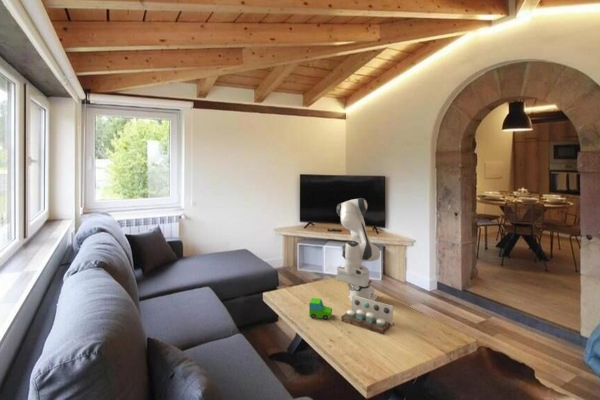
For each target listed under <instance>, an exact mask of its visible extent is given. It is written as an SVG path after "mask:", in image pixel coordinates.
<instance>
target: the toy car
mask: <svg viewBox="0 0 600 400" xmlns="http://www.w3.org/2000/svg"><path fill="white" fill-rule="evenodd" d="M322 300H323V299H322V298H319V297H318V298H317V297H315V298H314V297H311V299H310V301H309V307H308V309H309V314H308V315H309V318H312V319H313V320H314V319H316V318H319V319H320V318H321V319H323V320H326V321H327V320H328V319H331V317H332V315H333V308H332V307H330V306H327V305H326V306H325V305H324V302H323V301H322Z"/></svg>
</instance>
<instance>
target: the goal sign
mask: <svg viewBox="0 0 600 400" xmlns="http://www.w3.org/2000/svg"><path fill="white" fill-rule="evenodd" d="M359 309H361V310H364V311H365V316H366V313H368V312H372V313H374V314H375V319H379V318H380V319H384V320H385V322H389V323H390V328H391V327H393V326H394V325H395V323H394V305H391V304H388V303H383V302H380V301H377V300H375V301H373V300H369V299H365V298H361V297H357V296H353V295H352V301H351V310H353V311H355V313H357V310H359Z"/></svg>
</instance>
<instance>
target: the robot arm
mask: <svg viewBox="0 0 600 400" xmlns="http://www.w3.org/2000/svg"><path fill="white" fill-rule="evenodd" d="M367 210H368V203H367V200H366V199H365V198H362V197H359V198H354V199H350V200H346V201H344V202H339V203H338V204H337V206H336V213H337V215H338V217H340V224H341V226H342V227H343V228H344V229H346V230H348V231H349V232H350V238H351V239H352V240H349V241H347V242H346V243H345V244H344V245H342V246H341V249H342V253H341V256H342V257H343V258H344V259H343V260H345V262H344V266H342V265H339V266H337V267H336V280H337V281H340V282H342V283H347V287H348V290H349V295H348V296H347V297H348V299H349V300H350V302H352V295H353V296H357V297H361V298H365V299H369V300H373V301H377V299H378V294H376V293H375V289H374V287H373V286H371V283H372V282H373V281H372V279H370V270H369V268H368V267H366V266H365V265H362V262H374V261H378V260H379V258H380V256H381V251H380V249H379V247H378V246H377V245H375V244H374V243H373V242H372V241H371V240H370V238H369V236H368V233H367V232H368V231H367V227H366V223H365V220H364V218H365V217H364V215H365V213H366V212H367Z"/></svg>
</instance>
